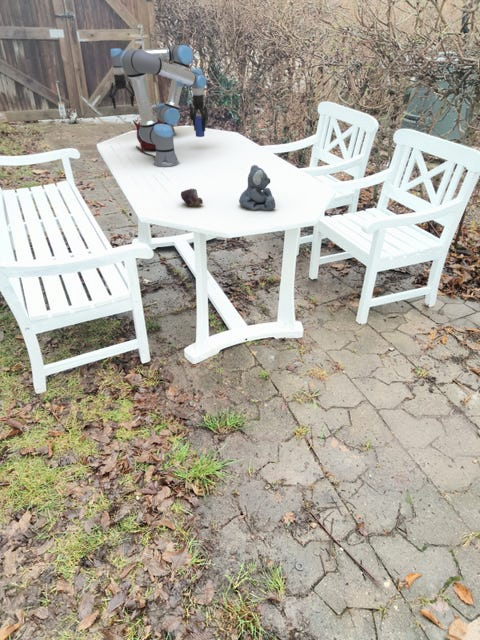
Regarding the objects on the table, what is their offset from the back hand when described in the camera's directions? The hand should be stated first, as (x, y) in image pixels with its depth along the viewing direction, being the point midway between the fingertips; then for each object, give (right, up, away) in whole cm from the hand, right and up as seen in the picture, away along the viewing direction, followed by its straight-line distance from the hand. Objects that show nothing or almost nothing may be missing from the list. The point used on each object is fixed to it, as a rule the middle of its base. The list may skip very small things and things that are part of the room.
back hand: (123, 107), depth 328 cm
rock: (+60, -96, -96) cm, 149 cm away
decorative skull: (+22, -30, 0) cm, 37 cm away
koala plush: (+93, -97, -98) cm, 167 cm away
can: (+56, -24, -7) cm, 62 cm away
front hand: (+56, -21, -9) cm, 61 cm away
